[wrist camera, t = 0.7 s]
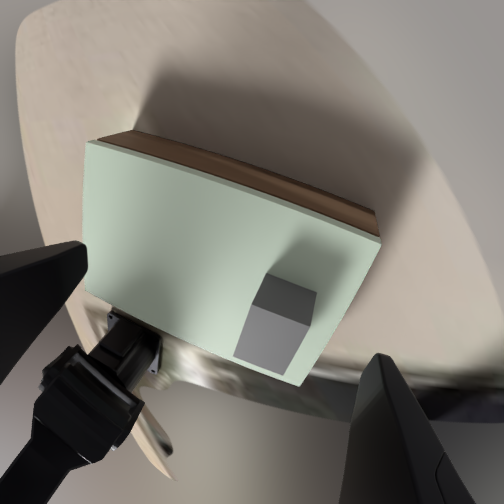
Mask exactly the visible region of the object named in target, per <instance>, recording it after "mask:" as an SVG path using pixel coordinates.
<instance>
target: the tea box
mask: <svg viewBox="0 0 504 504" xmlns="http://www.w3.org/2000/svg"><path fill="white" fill-rule="evenodd" d="M97 141H101V142H105V143H108V144H112V145H115V146H119V147H122V148H126V149H129V150H133V151H136V152H140V153H143V154H147V155H150V156H153V157H157V158H160V159H163V160H166V161H170V162H173V163H176V164H179V165H182V166H186V167H189V168H192V169H195V170H198V171H201V172H204V173H207V174H210V175H213V176H216V177H219V178H222V179H225V180H228V181H231V182H234V183H237V184H240V185H243V186H246V187H249V188H251V189H254V190H257V191H260V192H263V193H265V194H268V195H271V196H274V197H277V198H279V199H282V200H285V201H287V202H290V203H293V204H296V205H298V206H301V207H303V208H306V209H309V210H311V211H314V212H317V213H319V214H322V215H324V216H327V217H329V218H332V219H335V220H337V221H340V222H342V223H345V224H347V225H350V226H352V227H355V228H357V229H360V230H362V231H364V232H367V233H369V234H372V235H374V236H376V237H379V236H380V234H379V230H378V225H377V221H376V217H375V212H374V211H373V210H370V209H368V208H366V207H363V206H361V205H358V204H356V203H353V202H351V201H348V200H346V199H344V198H341V197H338V196H336V195H333V194H331V193H328V192H326V191H323V190H320V189H318V188H315V187H313V186H310V185H307V184H304V183H302V182H299V181H296V180H294V179H291V178H288V177H285V176H282V175H280V174H277V173H274V172H271V171H268V170H265V169H262V168H259V167H256V166H253V165H250V164H247V163H244V162H241V161H238V160H235V159H232V158H229V157H226V156H223V155H219V154H216V153H213V152H210V151H206V150H203V149H200V148H196V147H193V146H189V145H186V144H183V143H179V142H175V141H172V140H168V139H165V138H161V137H157V136H154V135H150V134H146V133H142V132H138V131H134V130H130V131H126V132H122V133H118V134H114V135H110V136H106V137H102V138H99V139H97Z"/></svg>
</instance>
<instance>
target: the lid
mask: <svg viewBox="0 0 504 504" xmlns="http://www.w3.org/2000/svg"><path fill="white" fill-rule="evenodd" d="M82 227H83V244H85V245H86V247H87V253H88V270H87V273H86V274H85V276H84V280H85V291H87V292H89V293H91V294H92V295H94V296H96V297H98V298H100V299H102V300H103V301H105V302H107V303H109V304H111V305H113V306H115V307H116V308H118V309H120V310H122V311H124V312H126V313H128V314H130V315H132V316H134V317H136V318H138V319H140V320H142V321H144V322H146V323H148V324H150V325H152V326H154V327H156V328H158V329H160V330H162V331H164V332H167V333H169V334H171V335H173V336H175V337H177V338H179V339H182V340H184V341H186V342H188V343H190V344H193V345H195V346H197V347H199V348H202V349H204V350H206V351H209V352H211V353H213V354H216V355H218V356H220V357H223V358H225V359H228V360H230V361H233V362H235V363H238V364H240V365H243V366H245V367H248V368H250V369H253V370H255V371H258V372H261V373H263V374H266V375H269V376H271V377H274V378H277V379H279V380H282V381H285V382H288V383H291V384H293V385H296V386H300V385H301V383H302V382H303V380H304V379H305V377H306V376H307V374H308V373H309V371H310V370H311V368H312V367H313V365H314V363H315V362H316V360H317V359H318V357H319V356H320V354H321V352H322V351H323V349H324V348H325V346H326V344H327V343H328V341H329V339H330V338H331V336H332V334H333V333H334V331H335V329H336V328H337V326H338V324H339V323H340V321H341V319H342V317H343V316H344V314H345V312H346V311H347V309H348V307H349V305H350V303H351V302H352V300H353V298H354V296H355V294H356V293H357V291H358V289H359V287H360V285H361V284H362V282H363V280H364V278H365V276H366V274H367V272H368V270H369V268H370V267H371V265H372V263H373V261H374V259H375V257H376V255H377V253H378V251H379V249H380V247H381V245H382V244H381V239H380V238H379V237H376V236H374V235H372V234H369V233H367V232H364V231H362V230H360V229H357V228H355V227H352V226H350V225H347V224H345V223H342V222H340V221H337V220H335V219H332V218H329V217H327V216H324V215H322V214H319V213H317V212H314V211H311V210H309V209H306V208H303V207H301V206H298V205H296V204H293V203H290V202H287V201H285V200H282V199H279V198H277V197H274V196H271V195H268V194H265V193H263V192H260V191H257V190H254V189H251V188H249V187H246V186H243V185H240V184H237V183H234V182H231V181H228V180H225V179H222V178H219V177H216V176H213V175H210V174H207V173H204V172H201V171H198V170H195V169H192V168H189V167H186V166H182V165H179V164H176V163H173V162H170V161H166V160H163V159H160V158H157V157H153V156H150V155H147V154H143V153H140V152H136V151H133V150H129V149H126V148H122V147H119V146H115V145H112V144H108V143H105V142H101V141H97V140H92V141H88V142H86V149H85V162H84V179H83V214H82Z"/></svg>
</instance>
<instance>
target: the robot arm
mask: <svg viewBox="0 0 504 504" xmlns="http://www.w3.org/2000/svg"><path fill="white" fill-rule="evenodd" d="M87 270H88V253H87V247H86V245H85V244H83V243H81V242H79V241H76V240H75V241H69V242H64V243H59V244H54V245H49V246H44V247H40V248H35V249H30V250H25V251H21V252H16V253H12V254H7V255H3V256H0V385H1V384H2V382H3V381H4V379H5V378H6V377H7V375H8V374H9V373H10V371H11V370H12V369H13V367H14V366H15V365H16V363H17V362H18V361H19V359H20V358H21V357H22V355H23V354H24V353H25V352H26V350H27V349H28V348H29V347H30V345H31V344H32V343H33V341H34V340H35V339H36V338H37V336H38V335H39V334H40V333H41V331H42V330H43V329H44V328H45V327H46V326H47V324H48V323H49V322H50V321H51V319H52V318H53V317H54V316H55V315H56V313H57V312H58V311H59V310H60V309H61V307H62V306H63V305H64V303H65V302H66V301H67V299H68V298H69V296H70V295H71V294H72V292H73V291H74V289H75V288H76V287H77V285H78V284H79V283H80V281H81V280H82V279H83V277H84V276H85V274H86V273H87ZM107 321H108V332H107V333H106V335H105V336H104V337H103V338H102V339H101V340H100V341H99V343H98V344H97V345H96V346H95V347H94V348H93V350H92V351H91V352H90V353H89V354H88V355H87V354H86V353H85V352H84V351H83V350H82V349H81V347H80V346H79V345H78V344H77V345H76V346H75V347H70V346H68V347H67V348H66V350H64V352H63V353H61V355H59V356H58V357H57V358H56V359H55V360H54V361H52V362H51V363H50V364H48V365H47V366H46V367H45V368H44V369H43V370H42V373H43V378H42V380H41V384H40V386H39V389H40V390H41V391H42V394H41V395H40V396H39V397H38V399H37V400H36V401H35V403H34V409H33V419H32V430H31V439H30V440H29V441H28V443H27V444H26V445H25V447H24V448H23V449H22V450H21V452H20V453H19V454H18V456H17V457H16V458H15V460H14V461H13V462H12V464H11V465H10V466H9V468H8V469H7V470H6V472H5V473H4V474H3V476H2V477H1V478H0V504H47V502H48V501H49V500H50V498H51V497H52V495H53V494H54V492H55V491H56V490H57V488H58V487H59V485H60V484H61V482H62V481H63V479H64V478H65V477H66V475H67V474H68V473H69V471H71V470H74V469H77V468H80V467H82V466H85V465H88V464H92V463H95V462H98V461H100V460H102V459H103V458H104V457H105V455H106V454H107V452H108V451H109V450H110V449H111V450H112V451H113V450H116V449H117V448H118V447H119V446H120V445H121V444H122V443H123V441H124V440H125V439H126V438H127V436H128V435H129V433H130V432H131V430H132V428H133V426H134V424H135V422H136V420H137V418H138V416H139V414H140V412H141V410H142V408H143V406H144V404H145V402H143V401H142V400H141V399H138V398H137V397H136V396H134V395H133V394H132V391H133V390H134V388H135V387H136V386H137V384H138V383H139V381H140V380H141V378H142V377H143V376H144V374H145V373H146V371H149V372H151V373H153V374H157V373H158V371H159V361H160V350H161V337H160V336H159V335H157V334H155V333H153V332H151V331H149V330H147V329H145V328H143V327H141V326H139V325H137V324H135V323H133V322H131V321H129V320H128V319H126V318H124V317H122V316H120V315H118V314H116V313H114V312H112V311H110V312H109V313H108V314H107ZM444 451H445V450H444V448H443V446H442V444H441V442H440V440H439V438H438V437H437V435H436V433H435V431H434V429H433V428H432V426H431V424H430V422H429V420H428V419H427V417H426V415H425V413H424V412H423V410H422V408H421V406H420V405H419V403H418V401H417V400H416V398H415V396H414V394H413V393H412V391H411V389H410V388H409V386H408V384H407V383H406V381H405V379H404V378H403V376H402V374H401V373H400V371H399V369H398V368H397V366H396V365H395V363H394V361H393V360H392V358H391V357H390V356H388V355H385V354H381V353H376V354H375V355H374V356H373V358H372V359H371V361H370V362H369V364H368V365H367V367H366V368H365V369H364V371H363V373H362V375H361V378H360V382H359V387H358V392H357V397H356V402H355V406H354V411H353V415H352V420H351V425H350V431H349V440H348V447H347V455H346V462H345V468H344V475H343V481H342V487H341V492H340V498H339V504H476V503H475V501H474V499H473V498H472V496H471V495H470V493H469V492H468V490H467V488H466V487H465V485H464V483H463V482H462V480H461V478H460V477H459V475H458V473H457V471H456V470H455V468H454V466H453V464H452V462H451V460H450V459H449V457H448V455H447V453H446V452H444Z"/></svg>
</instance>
